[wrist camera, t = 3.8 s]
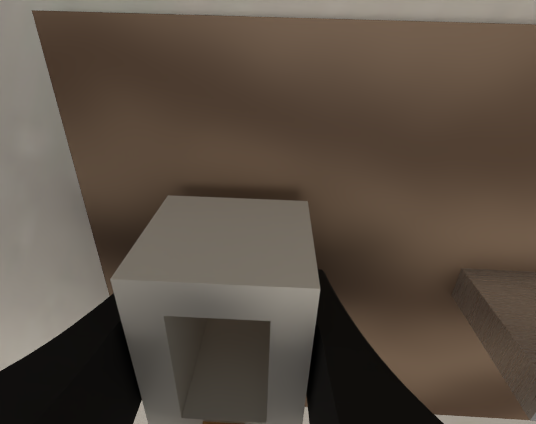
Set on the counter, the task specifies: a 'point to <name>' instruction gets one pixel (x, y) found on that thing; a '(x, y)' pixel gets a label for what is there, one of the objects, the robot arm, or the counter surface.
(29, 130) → the counter surface
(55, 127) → the counter surface
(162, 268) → the white frame
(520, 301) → the grey wood-grain block
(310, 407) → the robot arm
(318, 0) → the counter surface
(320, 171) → the mounting plate
